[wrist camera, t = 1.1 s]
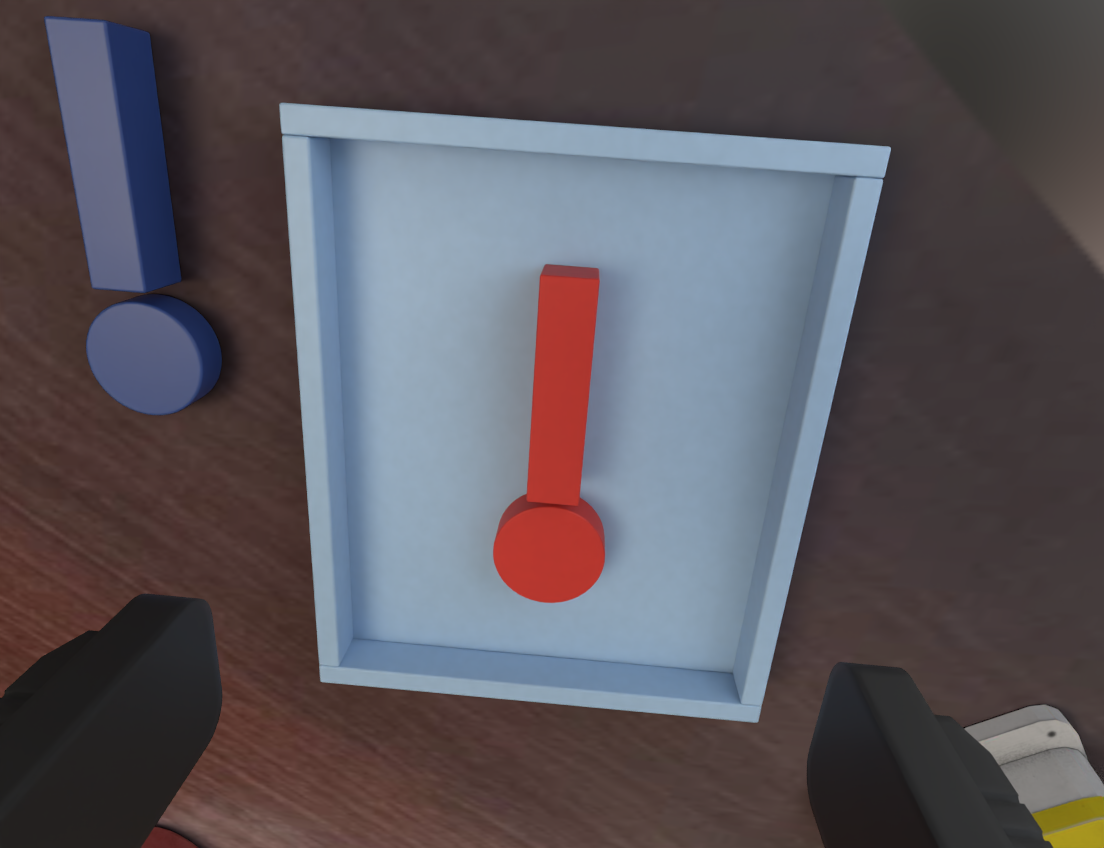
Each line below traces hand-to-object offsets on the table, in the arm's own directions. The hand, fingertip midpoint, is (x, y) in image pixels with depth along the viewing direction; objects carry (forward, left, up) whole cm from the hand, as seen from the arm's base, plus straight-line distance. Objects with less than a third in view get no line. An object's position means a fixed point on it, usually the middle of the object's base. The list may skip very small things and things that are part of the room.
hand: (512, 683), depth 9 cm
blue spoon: (-3, -12, -13) cm, 18 cm away
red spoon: (+2, 0, -12) cm, 12 cm away
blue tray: (+2, 0, -13) cm, 13 cm away
